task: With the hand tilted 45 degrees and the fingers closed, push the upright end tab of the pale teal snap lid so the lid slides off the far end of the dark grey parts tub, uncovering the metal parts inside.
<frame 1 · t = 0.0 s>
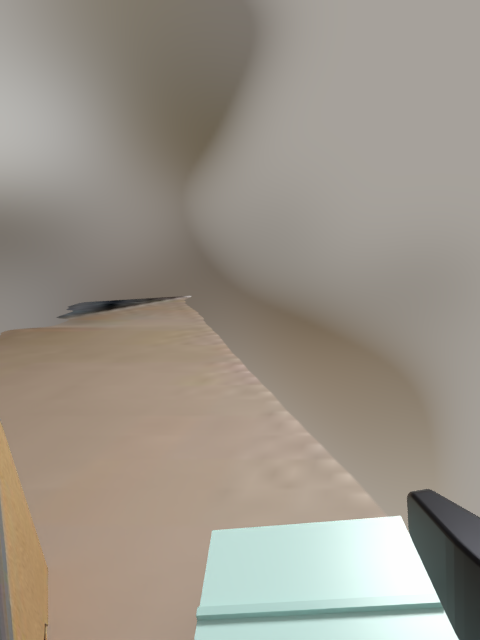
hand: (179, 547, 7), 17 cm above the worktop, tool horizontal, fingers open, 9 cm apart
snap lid: (317, 613, 13), point 8 cm above the worktop, slide at 0.0 cm
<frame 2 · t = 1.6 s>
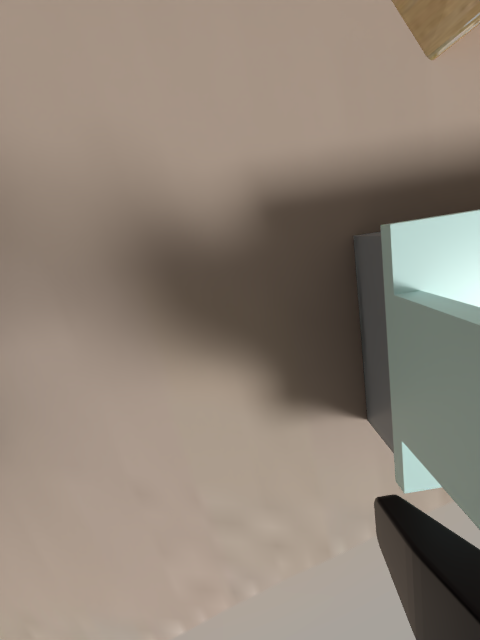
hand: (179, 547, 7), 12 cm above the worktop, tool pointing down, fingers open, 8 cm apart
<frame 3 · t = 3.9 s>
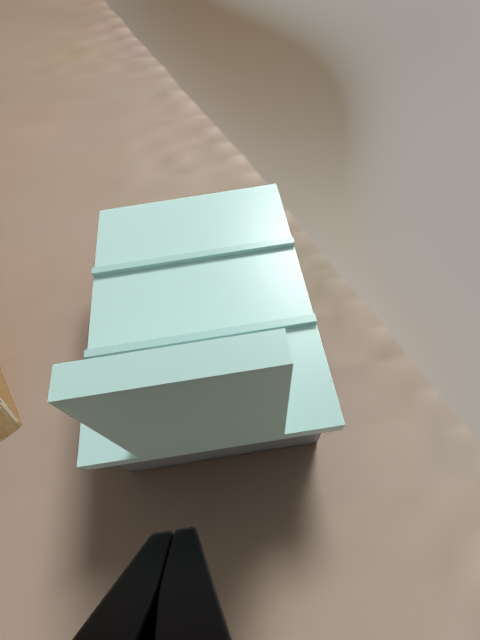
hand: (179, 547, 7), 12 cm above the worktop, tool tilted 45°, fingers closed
parts tub: (211, 341, 23), on the worktop
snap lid: (185, 255, 16), point 8 cm above the worktop, slide at 0.0 cm
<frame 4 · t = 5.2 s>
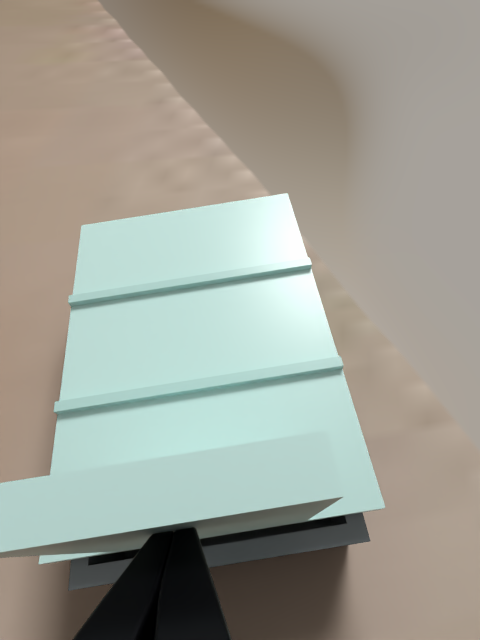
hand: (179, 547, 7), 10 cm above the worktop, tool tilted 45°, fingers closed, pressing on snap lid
parts tub: (214, 401, 19), on the worktop
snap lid: (179, 287, 13), point 8 cm above the worktop, slide at 1.3 cm, touching gripper
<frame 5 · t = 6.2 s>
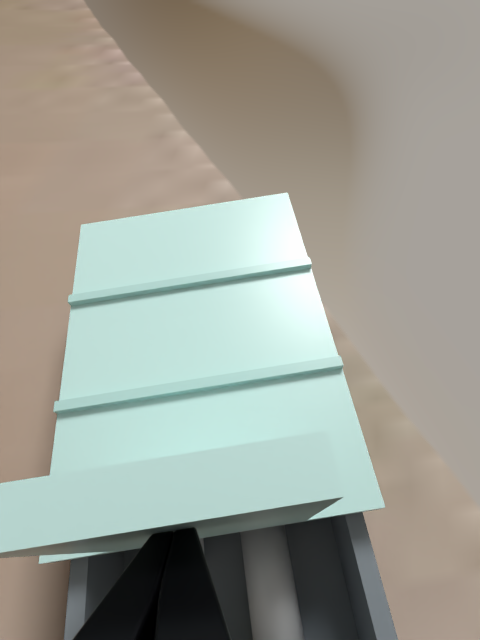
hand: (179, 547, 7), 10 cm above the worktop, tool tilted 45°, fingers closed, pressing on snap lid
parts tub: (227, 526, 16), on the worktop
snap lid: (178, 286, 13), point 8 cm above the worktop, slide at 7.1 cm, touching gripper
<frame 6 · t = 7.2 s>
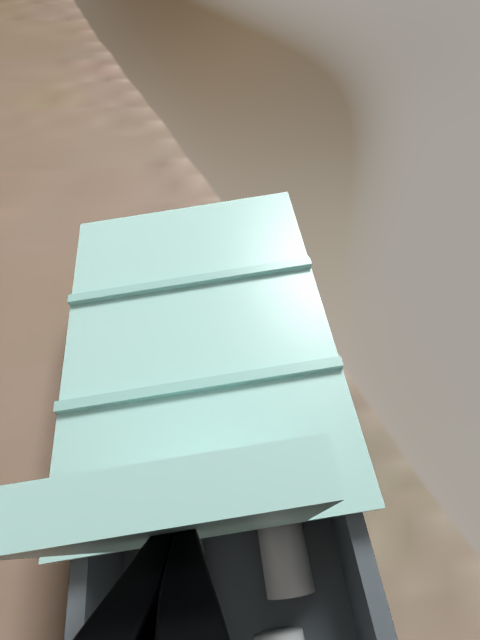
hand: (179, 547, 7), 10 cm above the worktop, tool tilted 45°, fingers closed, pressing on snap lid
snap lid: (178, 286, 13), point 8 cm above the worktop, slide at 11.2 cm, touching gripper
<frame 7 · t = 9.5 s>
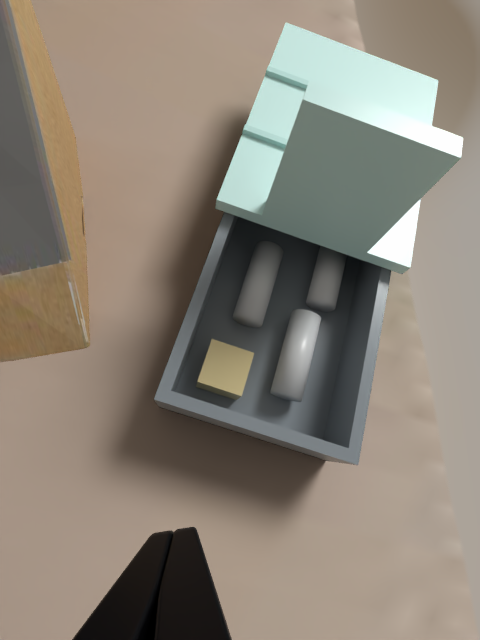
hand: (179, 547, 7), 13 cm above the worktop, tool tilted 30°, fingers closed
parts tub: (274, 322, 23), on the worktop
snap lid: (366, 85, 19), point 8 cm above the worktop, slide at 11.0 cm
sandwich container: (13, 242, 23), on the worktop
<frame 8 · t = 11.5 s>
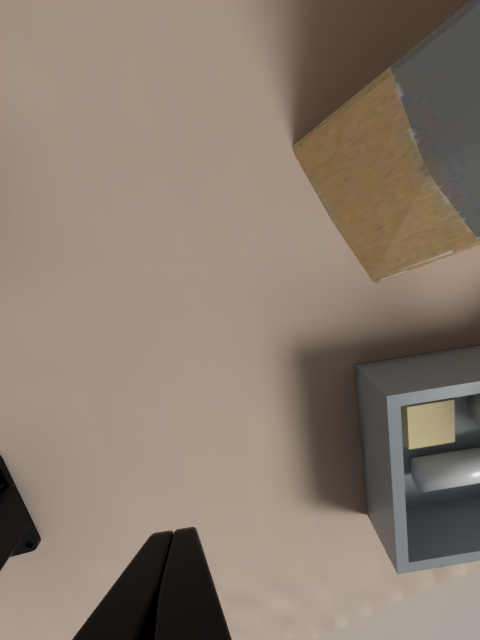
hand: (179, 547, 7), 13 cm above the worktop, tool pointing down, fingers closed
parts tub: (479, 425, 22), on the worktop
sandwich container: (458, 129, 18), on the worktop
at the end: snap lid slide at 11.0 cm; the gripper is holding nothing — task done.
